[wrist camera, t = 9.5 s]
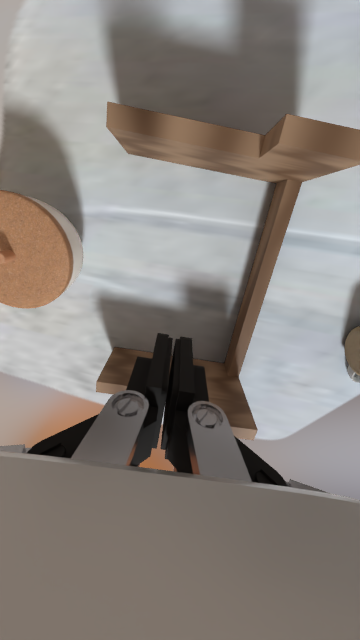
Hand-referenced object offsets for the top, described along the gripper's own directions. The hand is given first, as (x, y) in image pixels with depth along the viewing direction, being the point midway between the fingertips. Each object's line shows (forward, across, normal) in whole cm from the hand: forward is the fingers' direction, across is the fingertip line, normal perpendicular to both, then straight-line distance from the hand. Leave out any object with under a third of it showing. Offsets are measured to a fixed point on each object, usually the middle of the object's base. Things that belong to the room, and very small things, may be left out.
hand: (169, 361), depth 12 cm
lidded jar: (+20, +16, -1) cm, 26 cm away
